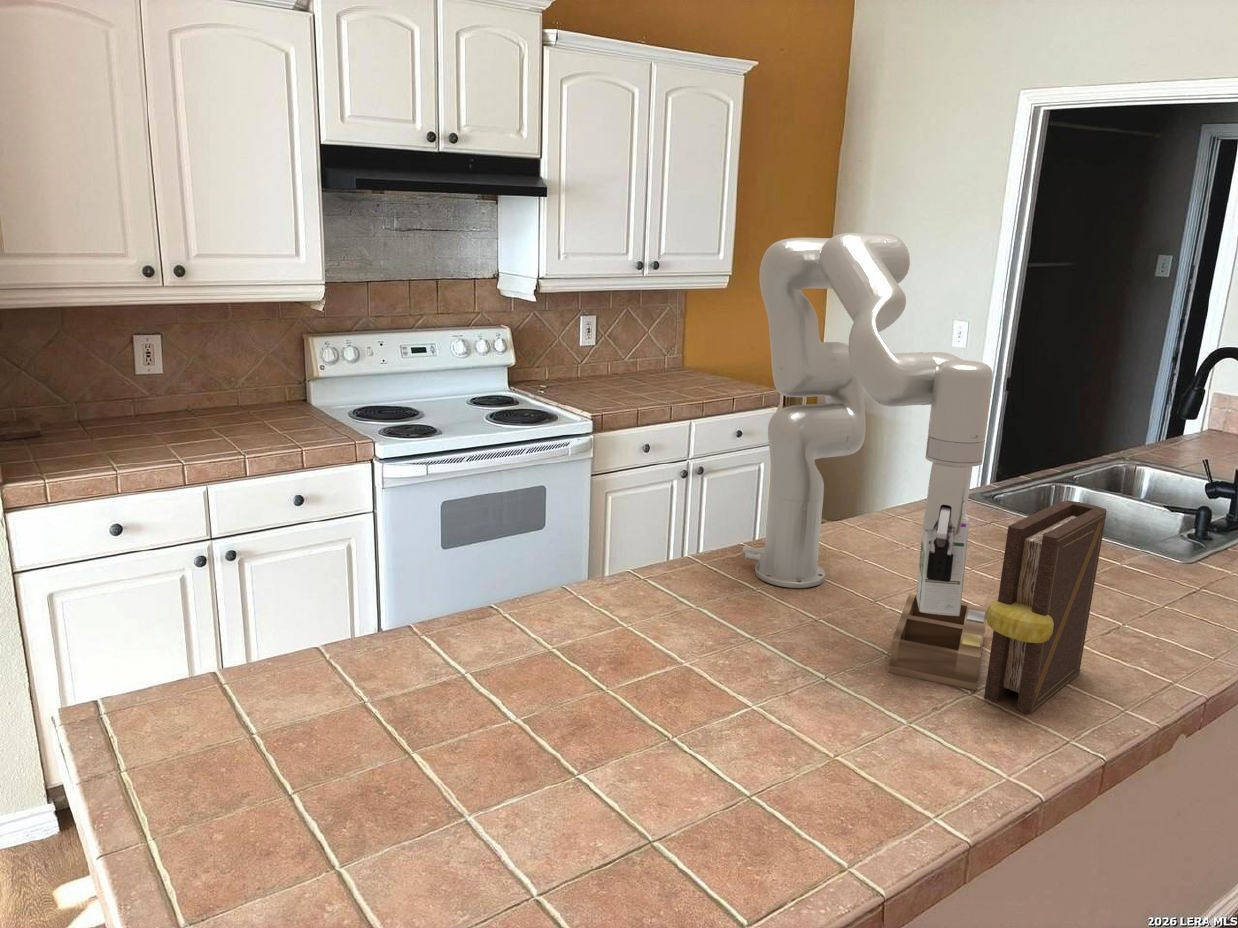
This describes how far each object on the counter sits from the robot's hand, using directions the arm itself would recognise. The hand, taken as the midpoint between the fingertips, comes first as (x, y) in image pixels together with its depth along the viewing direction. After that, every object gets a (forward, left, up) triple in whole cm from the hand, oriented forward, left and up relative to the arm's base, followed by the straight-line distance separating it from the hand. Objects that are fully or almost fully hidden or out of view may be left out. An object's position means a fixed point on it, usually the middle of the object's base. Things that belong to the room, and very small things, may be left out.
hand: (940, 570), depth 136 cm
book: (+14, 0, -15) cm, 21 cm away
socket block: (+1, +5, -15) cm, 16 cm away
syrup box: (0, 0, -6) cm, 6 cm away
